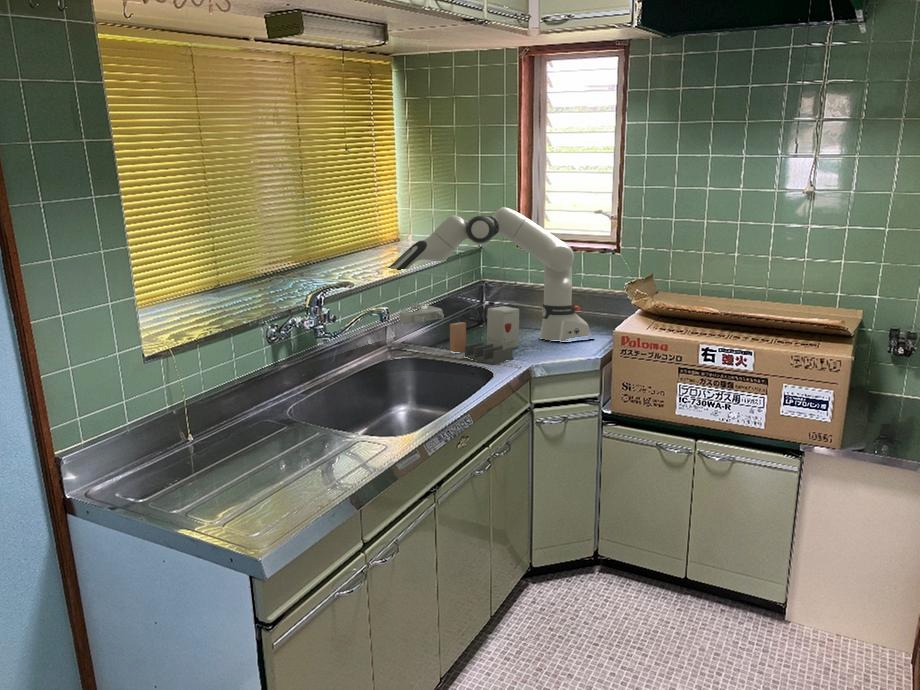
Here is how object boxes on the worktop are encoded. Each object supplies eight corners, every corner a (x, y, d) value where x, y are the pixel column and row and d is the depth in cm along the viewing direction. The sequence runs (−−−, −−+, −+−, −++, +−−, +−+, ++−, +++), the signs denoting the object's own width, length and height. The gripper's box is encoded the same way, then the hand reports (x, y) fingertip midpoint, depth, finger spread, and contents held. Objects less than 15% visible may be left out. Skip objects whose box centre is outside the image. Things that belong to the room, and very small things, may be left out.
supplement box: (502, 350, 278) (503, 311, 275) (486, 346, 285) (486, 308, 281) (519, 347, 284) (520, 308, 281) (503, 343, 290) (503, 305, 287)
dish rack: (483, 353, 273) (483, 341, 272) (513, 359, 263) (513, 347, 262) (463, 358, 265) (463, 346, 264) (493, 364, 255) (493, 352, 254)
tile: (461, 350, 277) (461, 321, 275) (465, 351, 275) (465, 322, 273) (449, 353, 273) (449, 324, 270) (454, 354, 271) (454, 324, 269)
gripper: (388, 308, 281) (413, 313, 272) (427, 303, 296) (452, 307, 286) (389, 324, 282) (413, 329, 273) (427, 318, 297) (452, 323, 288)
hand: (433, 318), depth 280 cm, fingers open, 8 cm apart
